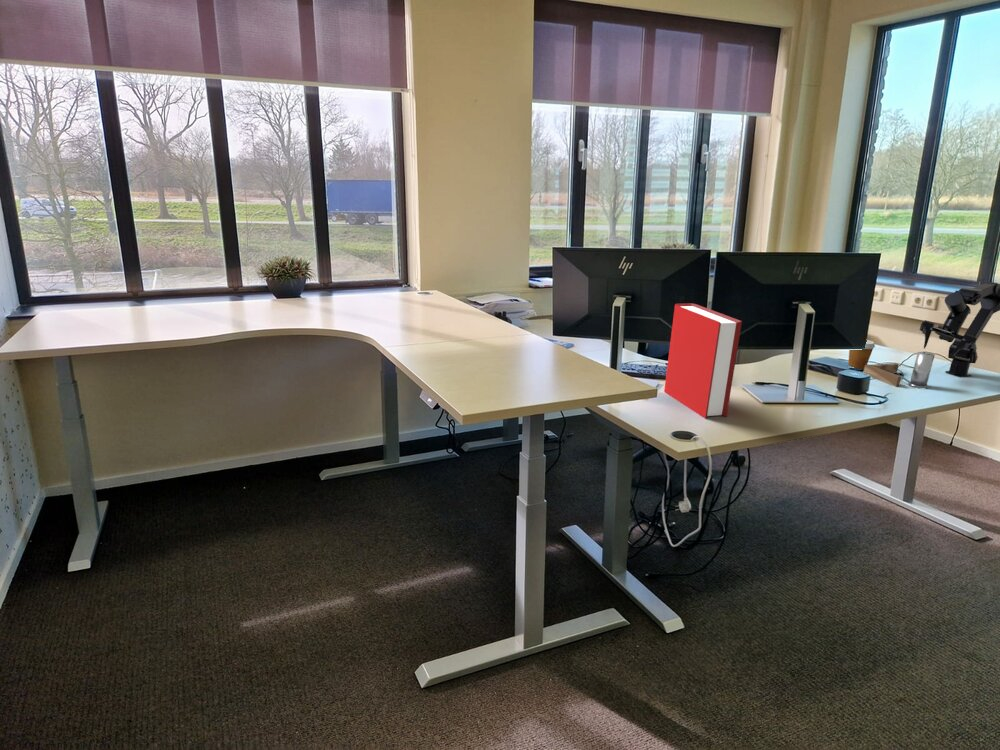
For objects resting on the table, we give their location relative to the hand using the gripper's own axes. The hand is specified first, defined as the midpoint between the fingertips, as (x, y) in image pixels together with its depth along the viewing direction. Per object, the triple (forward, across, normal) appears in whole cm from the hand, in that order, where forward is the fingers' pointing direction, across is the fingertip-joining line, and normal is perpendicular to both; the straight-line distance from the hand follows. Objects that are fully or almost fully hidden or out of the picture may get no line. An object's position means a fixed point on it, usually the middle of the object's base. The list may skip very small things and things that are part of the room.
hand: (937, 352), depth 244 cm
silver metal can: (+15, 0, +1) cm, 15 cm away
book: (+69, +54, +66) cm, 110 cm away
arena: (+15, +9, -3) cm, 18 cm away
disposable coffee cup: (+15, +23, -8) cm, 29 cm away
